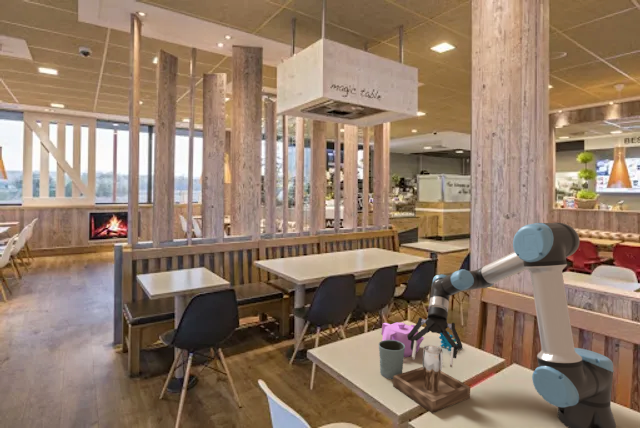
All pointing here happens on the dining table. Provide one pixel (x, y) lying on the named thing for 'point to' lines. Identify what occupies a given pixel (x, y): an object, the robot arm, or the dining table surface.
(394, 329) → the teakettle
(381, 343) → the grey green cup
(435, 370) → the beer glass
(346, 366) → the dining table surface
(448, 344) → the teal spiky toy
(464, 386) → the tray
